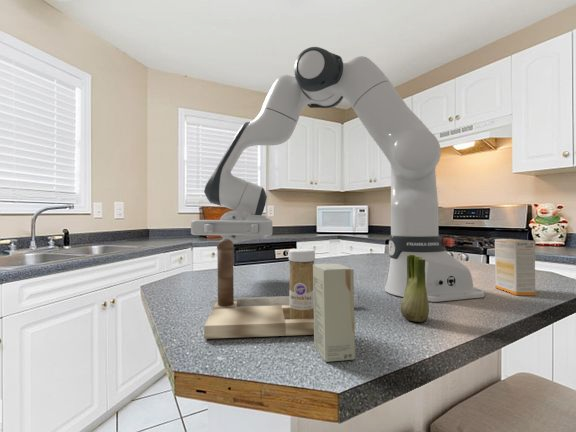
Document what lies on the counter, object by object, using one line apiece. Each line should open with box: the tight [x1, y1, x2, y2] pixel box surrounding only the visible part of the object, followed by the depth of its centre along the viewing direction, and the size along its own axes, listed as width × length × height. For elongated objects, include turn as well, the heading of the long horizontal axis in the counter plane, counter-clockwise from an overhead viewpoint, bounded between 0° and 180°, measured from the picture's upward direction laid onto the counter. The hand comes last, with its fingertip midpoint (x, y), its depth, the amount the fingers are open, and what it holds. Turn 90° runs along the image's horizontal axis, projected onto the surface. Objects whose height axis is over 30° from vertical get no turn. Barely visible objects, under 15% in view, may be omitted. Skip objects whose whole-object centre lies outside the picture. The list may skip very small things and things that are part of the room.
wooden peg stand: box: [203, 238, 314, 340], centre depth 57 cm, size 20×14×15 cm
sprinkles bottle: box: [288, 248, 316, 319], centre depth 56 cm, size 5×5×14 cm
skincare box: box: [313, 263, 356, 363], centre depth 45 cm, size 6×4×12 cm
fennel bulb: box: [399, 255, 430, 323], centre depth 58 cm, size 6×5×12 cm
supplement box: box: [494, 238, 536, 296], centre depth 79 cm, size 8×5×13 cm, turn 179°
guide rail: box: [211, 293, 359, 311], centre depth 66 cm, size 30×2×2 cm, turn 95°
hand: (229, 228), depth 74 cm, fingers open, 8 cm apart
